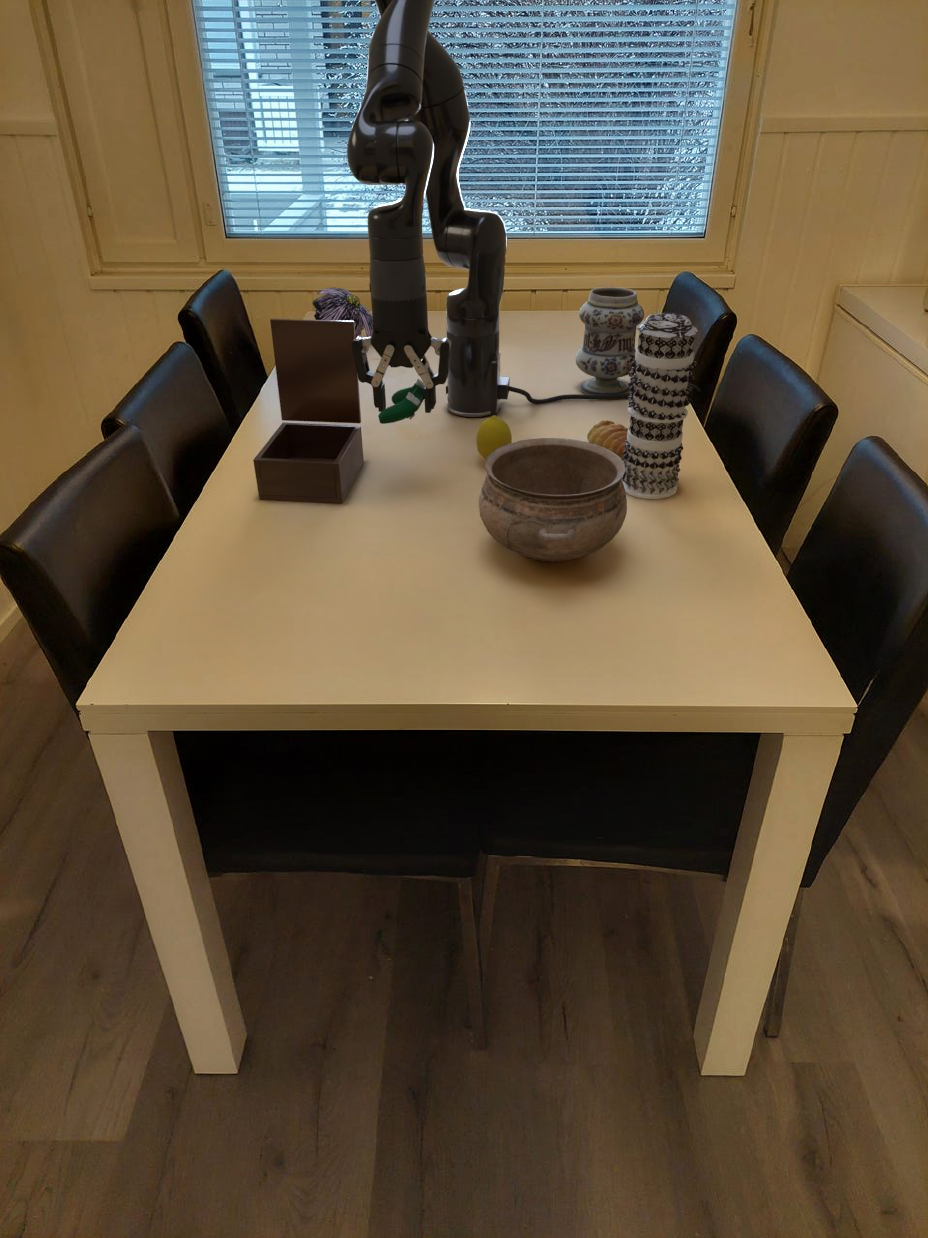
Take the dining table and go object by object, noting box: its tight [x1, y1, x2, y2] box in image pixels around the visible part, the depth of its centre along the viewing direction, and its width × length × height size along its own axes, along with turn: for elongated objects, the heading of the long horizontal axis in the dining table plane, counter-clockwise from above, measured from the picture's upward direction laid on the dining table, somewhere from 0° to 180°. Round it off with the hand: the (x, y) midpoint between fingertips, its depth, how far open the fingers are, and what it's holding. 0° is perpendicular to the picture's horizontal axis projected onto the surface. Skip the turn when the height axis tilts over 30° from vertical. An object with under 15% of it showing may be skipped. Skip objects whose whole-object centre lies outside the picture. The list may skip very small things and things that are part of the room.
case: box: [252, 421, 365, 504], centre depth 134 cm, size 15×13×6 cm
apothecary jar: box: [574, 286, 645, 394], centre depth 163 cm, size 12×12×18 cm
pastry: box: [587, 419, 629, 460], centre depth 143 cm, size 9×7×4 cm
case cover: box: [269, 318, 362, 424], centre depth 135 cm, size 15×13×5 cm
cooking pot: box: [478, 437, 628, 564], centre depth 113 cm, size 25×19×12 cm
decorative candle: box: [621, 312, 699, 500], centre depth 125 cm, size 9×9×25 cm
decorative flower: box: [311, 287, 373, 337], centre depth 194 cm, size 15×12×15 cm
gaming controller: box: [378, 378, 425, 425], centre depth 127 cm, size 9×4×6 cm
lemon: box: [475, 415, 513, 461], centre depth 138 cm, size 6×6×8 cm
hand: (405, 410), depth 127 cm, fingers closed on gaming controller, 6 cm apart
